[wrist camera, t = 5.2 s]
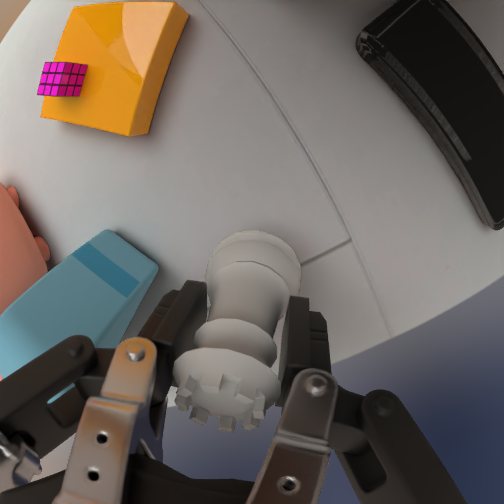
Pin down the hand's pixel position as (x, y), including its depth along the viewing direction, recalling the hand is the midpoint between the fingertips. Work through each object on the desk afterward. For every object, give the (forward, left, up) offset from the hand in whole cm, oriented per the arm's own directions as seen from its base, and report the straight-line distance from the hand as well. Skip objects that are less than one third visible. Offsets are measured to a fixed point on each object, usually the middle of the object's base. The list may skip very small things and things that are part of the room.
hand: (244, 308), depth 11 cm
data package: (+11, +6, -7) cm, 15 cm away
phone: (-12, -11, -7) cm, 17 cm away
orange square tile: (+10, -11, -7) cm, 16 cm away
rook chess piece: (0, 0, -3) cm, 3 cm away
